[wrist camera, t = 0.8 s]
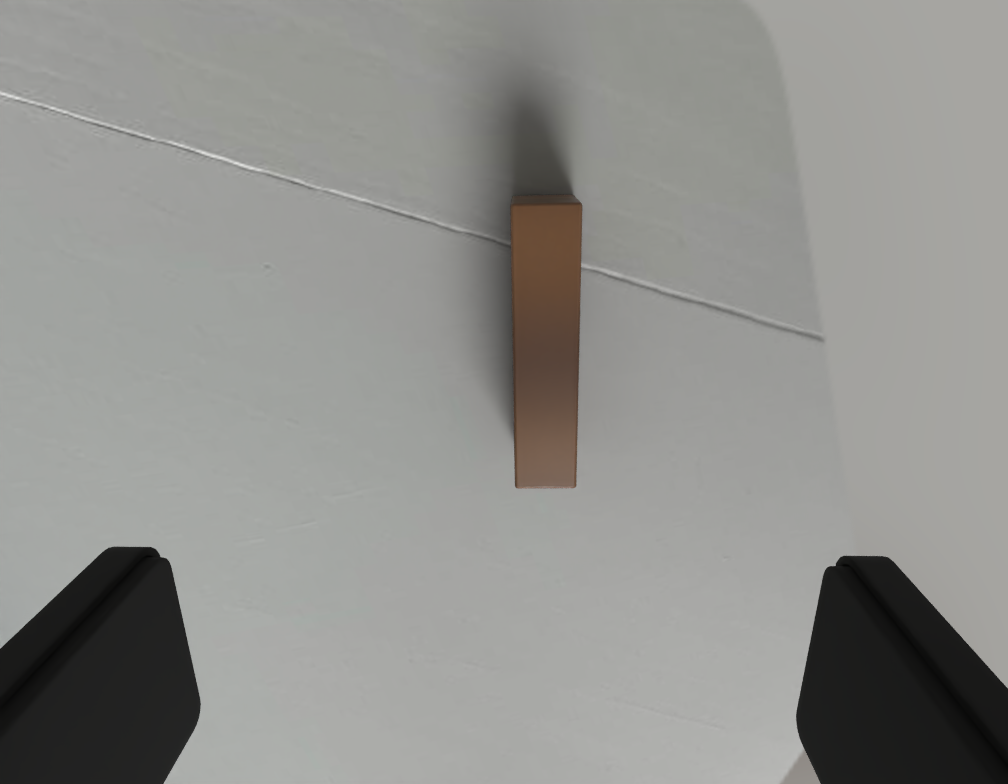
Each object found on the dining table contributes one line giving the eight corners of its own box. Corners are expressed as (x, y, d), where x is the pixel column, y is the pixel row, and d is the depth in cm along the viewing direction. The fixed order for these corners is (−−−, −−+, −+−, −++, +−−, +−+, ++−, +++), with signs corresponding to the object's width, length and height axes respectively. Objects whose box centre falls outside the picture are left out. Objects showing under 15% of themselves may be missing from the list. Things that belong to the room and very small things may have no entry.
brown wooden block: (511, 195, 21) (510, 203, 18) (574, 194, 21) (582, 202, 18) (515, 449, 24) (515, 489, 21) (570, 448, 24) (576, 489, 21)
